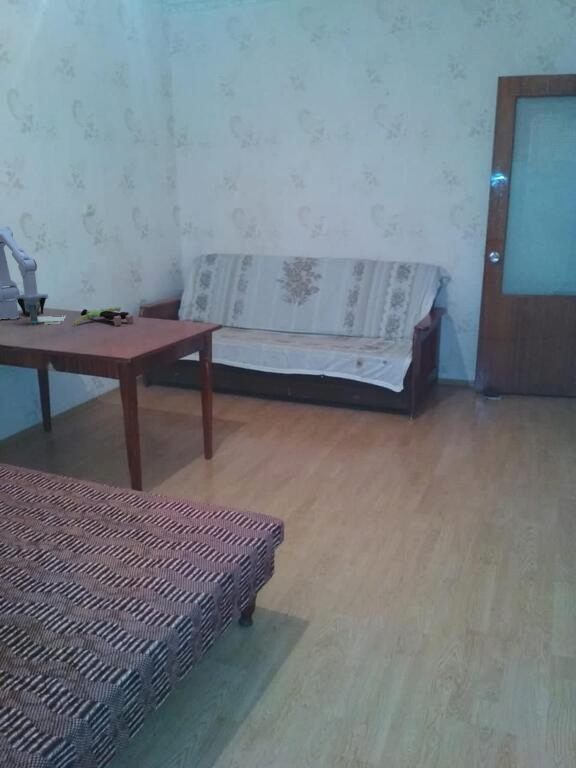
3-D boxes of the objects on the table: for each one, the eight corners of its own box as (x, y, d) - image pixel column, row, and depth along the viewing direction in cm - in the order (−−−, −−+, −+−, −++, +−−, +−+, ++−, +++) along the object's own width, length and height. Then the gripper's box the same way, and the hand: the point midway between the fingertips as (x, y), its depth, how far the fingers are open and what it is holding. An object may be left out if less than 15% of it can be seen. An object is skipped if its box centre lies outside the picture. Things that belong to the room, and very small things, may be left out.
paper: (33, 322, 300) (33, 322, 299) (36, 317, 312) (36, 316, 311) (63, 321, 303) (63, 320, 303) (65, 316, 315) (65, 315, 315)
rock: (42, 310, 330) (22, 307, 327) (43, 297, 325) (22, 294, 322) (38, 326, 317) (17, 323, 314) (39, 312, 313) (17, 309, 310)
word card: (43, 324, 295) (43, 324, 295) (45, 322, 299) (44, 321, 299) (59, 324, 297) (59, 323, 296) (60, 322, 301) (60, 321, 301)
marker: (30, 324, 295) (28, 304, 292) (31, 323, 298) (28, 303, 295) (37, 324, 295) (35, 304, 293) (38, 323, 298) (36, 303, 296)
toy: (150, 316, 308) (108, 313, 323) (147, 303, 305) (105, 300, 321) (102, 336, 283) (59, 331, 299) (99, 322, 281) (56, 318, 296)
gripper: (12, 287, 286) (15, 316, 290) (45, 286, 289) (48, 315, 293) (14, 285, 292) (18, 313, 296) (47, 284, 296) (50, 312, 300)
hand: (33, 314), depth 295 cm, fingers open, 7 cm apart
